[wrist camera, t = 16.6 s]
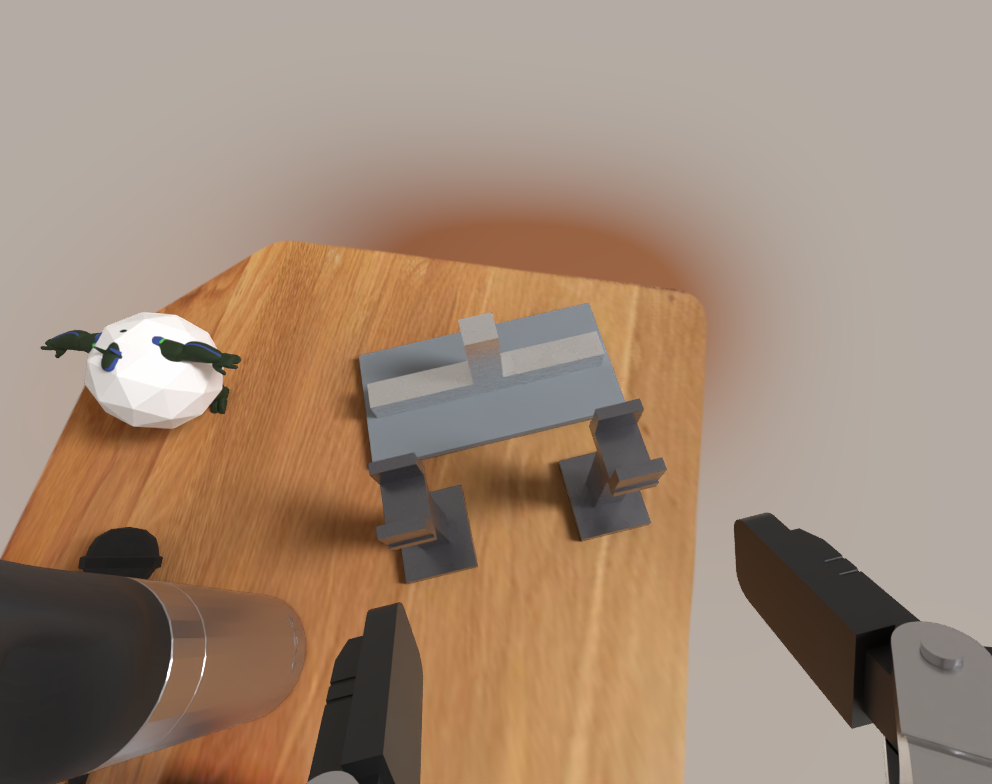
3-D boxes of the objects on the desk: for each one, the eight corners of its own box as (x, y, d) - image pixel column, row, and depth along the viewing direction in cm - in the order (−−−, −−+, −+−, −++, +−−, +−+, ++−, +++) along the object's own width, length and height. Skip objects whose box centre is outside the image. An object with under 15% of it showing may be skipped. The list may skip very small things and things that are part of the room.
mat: (376, 470, 48) (373, 467, 47) (361, 360, 53) (358, 355, 52) (625, 411, 49) (627, 407, 48) (587, 308, 54) (588, 302, 53)
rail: (377, 418, 49) (344, 373, 40) (374, 395, 50) (341, 346, 41) (601, 366, 50) (615, 310, 41) (593, 344, 51) (606, 286, 42)
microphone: (130, 785, 42) (175, 528, 48) (96, 818, 36) (152, 525, 42) (51, 792, 40) (108, 528, 46) (4, 828, 35) (74, 524, 41)
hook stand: (408, 583, 44) (354, 563, 30) (397, 503, 46) (343, 453, 33) (648, 524, 44) (697, 480, 31) (622, 449, 47) (656, 379, 34)
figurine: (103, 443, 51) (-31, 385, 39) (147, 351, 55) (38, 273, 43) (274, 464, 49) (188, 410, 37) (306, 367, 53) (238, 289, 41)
